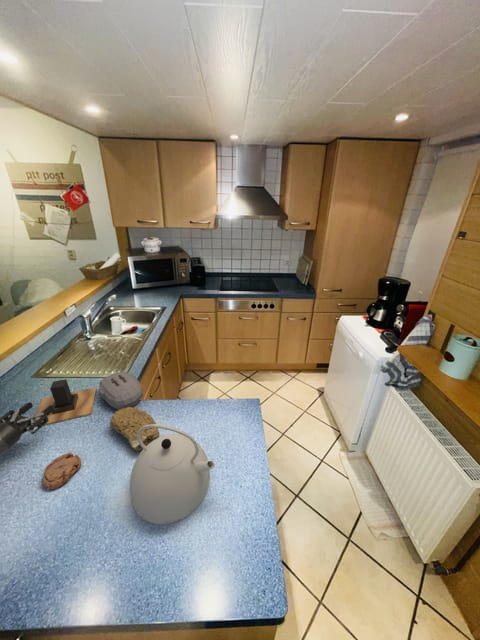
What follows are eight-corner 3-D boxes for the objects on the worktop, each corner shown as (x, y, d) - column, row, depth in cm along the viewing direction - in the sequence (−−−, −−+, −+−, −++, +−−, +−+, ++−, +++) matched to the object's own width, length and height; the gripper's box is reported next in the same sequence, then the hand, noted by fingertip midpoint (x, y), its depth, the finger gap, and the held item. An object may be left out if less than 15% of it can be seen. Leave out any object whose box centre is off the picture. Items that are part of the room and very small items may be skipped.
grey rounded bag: (95, 394, 108) (116, 418, 96) (91, 378, 105) (112, 402, 93) (129, 378, 119) (151, 398, 107) (126, 363, 115) (149, 382, 103)
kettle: (225, 455, 83) (224, 404, 73) (202, 536, 63) (197, 479, 53) (156, 441, 87) (147, 391, 78) (114, 512, 67) (94, 456, 58)
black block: (58, 410, 98) (49, 388, 94) (61, 403, 102) (53, 381, 98) (71, 407, 100) (63, 386, 95) (73, 400, 104) (66, 379, 99)
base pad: (29, 428, 91) (27, 423, 90) (43, 399, 105) (41, 394, 104) (91, 414, 98) (89, 409, 97) (96, 388, 112) (95, 383, 110)
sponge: (165, 441, 89) (143, 401, 101) (160, 431, 84) (138, 390, 96) (128, 466, 83) (110, 420, 95) (120, 456, 78) (102, 409, 90)
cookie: (36, 494, 71) (32, 487, 70) (51, 460, 80) (48, 454, 79) (75, 485, 74) (73, 478, 72) (85, 453, 83) (83, 447, 82)
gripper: (11, 438, 73) (56, 399, 88) (-31, 432, 75) (20, 395, 89) (20, 456, 76) (62, 415, 91) (-20, 449, 78) (27, 410, 93)
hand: (41, 405), depth 90 cm, fingers open, 8 cm apart
